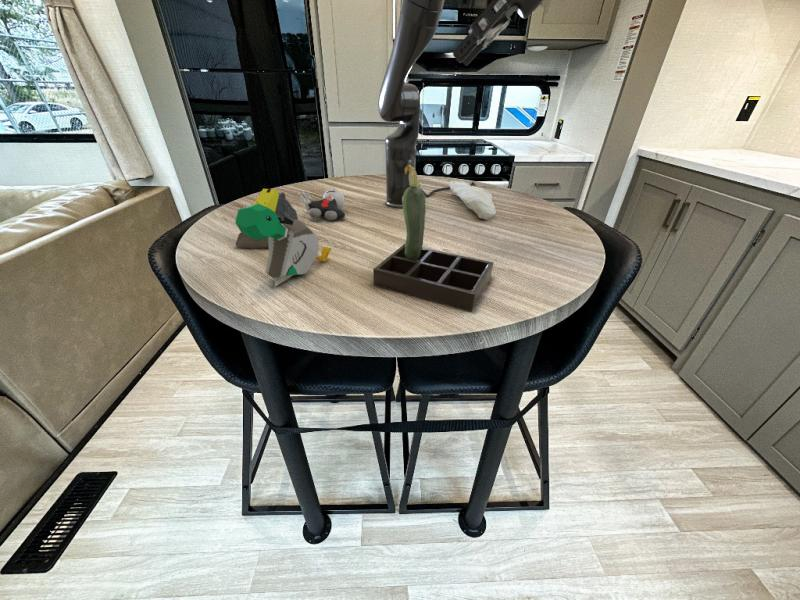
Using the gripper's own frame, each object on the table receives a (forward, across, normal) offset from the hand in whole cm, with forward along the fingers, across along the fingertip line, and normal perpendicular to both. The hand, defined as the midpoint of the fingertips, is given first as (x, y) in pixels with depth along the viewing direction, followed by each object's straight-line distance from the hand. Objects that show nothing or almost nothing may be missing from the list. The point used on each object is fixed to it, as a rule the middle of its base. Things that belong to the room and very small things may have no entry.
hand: (459, 60), depth 62 cm
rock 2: (+23, -31, +29) cm, 48 cm away
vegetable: (+28, +17, +23) cm, 40 cm away
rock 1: (+55, +13, -3) cm, 57 cm away
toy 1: (+45, +26, +7) cm, 52 cm away
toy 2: (+53, -9, -1) cm, 54 cm away
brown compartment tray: (+25, +21, +27) cm, 43 cm away
